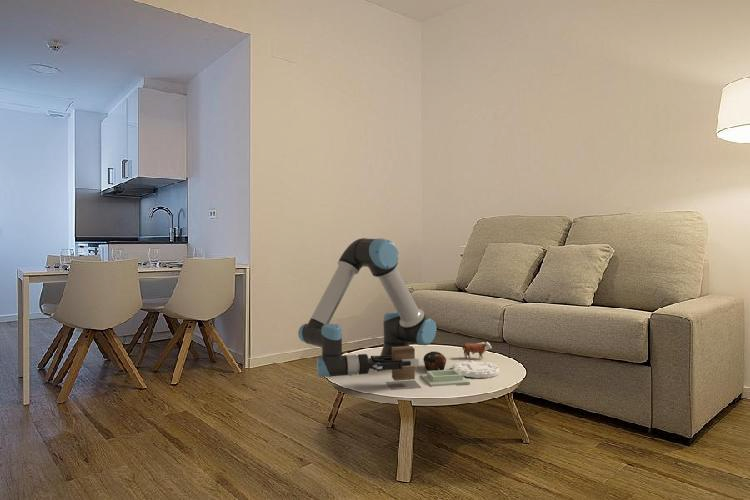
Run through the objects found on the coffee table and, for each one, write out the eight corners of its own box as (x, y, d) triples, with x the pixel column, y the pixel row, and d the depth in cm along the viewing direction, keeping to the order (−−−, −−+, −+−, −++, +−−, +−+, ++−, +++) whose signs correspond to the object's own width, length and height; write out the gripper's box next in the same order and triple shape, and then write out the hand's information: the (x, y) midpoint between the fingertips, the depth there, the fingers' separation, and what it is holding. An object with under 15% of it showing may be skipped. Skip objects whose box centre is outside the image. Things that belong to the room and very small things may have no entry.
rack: (420, 376, 214) (420, 369, 214) (457, 374, 218) (457, 367, 217) (431, 387, 201) (431, 379, 201) (470, 384, 204) (470, 376, 204)
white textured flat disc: (501, 368, 228) (501, 362, 228) (497, 381, 209) (497, 374, 209) (455, 364, 234) (455, 358, 234) (448, 376, 215) (448, 369, 215)
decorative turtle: (434, 375, 216) (432, 356, 216) (417, 368, 230) (416, 350, 230) (454, 371, 220) (452, 353, 220) (436, 365, 234) (435, 347, 234)
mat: (385, 382, 206) (385, 382, 206) (414, 380, 209) (414, 380, 209) (391, 390, 197) (391, 389, 196) (421, 388, 199) (421, 387, 199)
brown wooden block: (391, 377, 204) (391, 347, 203) (411, 375, 205) (411, 345, 205) (394, 380, 199) (394, 349, 199) (414, 379, 201) (414, 348, 200)
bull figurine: (491, 360, 240) (492, 343, 239) (462, 359, 242) (462, 342, 241) (491, 358, 244) (491, 340, 243) (462, 356, 246) (462, 339, 246)
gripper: (354, 367, 207) (410, 363, 212) (361, 381, 190) (423, 376, 195) (353, 349, 207) (410, 345, 211) (361, 360, 190) (422, 356, 194)
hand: (416, 360), depth 203 cm, fingers closed on brown wooden block, 4 cm apart
